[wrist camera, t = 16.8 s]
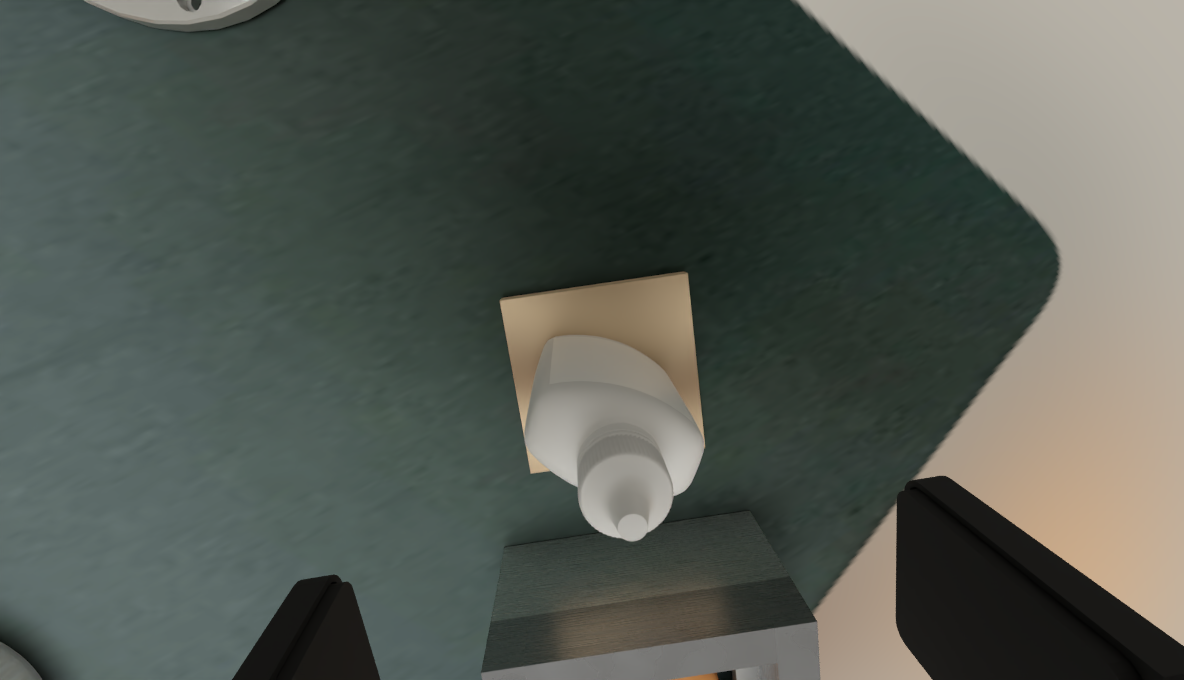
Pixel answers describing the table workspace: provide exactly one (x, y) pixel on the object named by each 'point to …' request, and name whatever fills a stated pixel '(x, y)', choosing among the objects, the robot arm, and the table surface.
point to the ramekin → (15, 666)
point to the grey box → (651, 607)
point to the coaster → (607, 330)
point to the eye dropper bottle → (612, 432)
